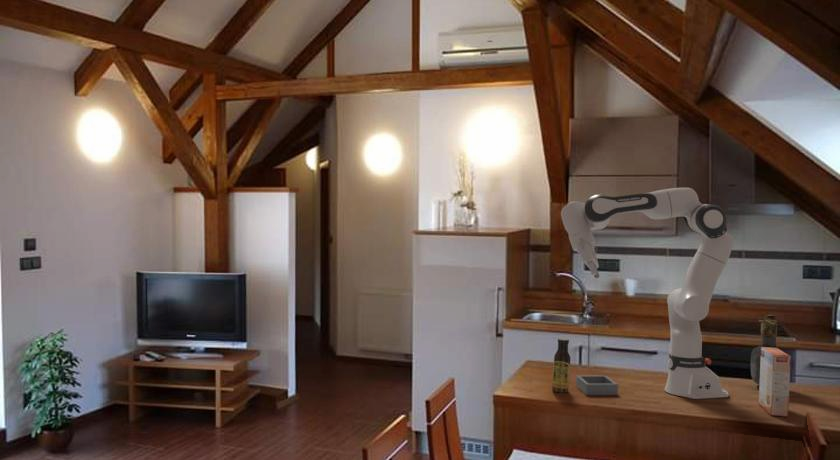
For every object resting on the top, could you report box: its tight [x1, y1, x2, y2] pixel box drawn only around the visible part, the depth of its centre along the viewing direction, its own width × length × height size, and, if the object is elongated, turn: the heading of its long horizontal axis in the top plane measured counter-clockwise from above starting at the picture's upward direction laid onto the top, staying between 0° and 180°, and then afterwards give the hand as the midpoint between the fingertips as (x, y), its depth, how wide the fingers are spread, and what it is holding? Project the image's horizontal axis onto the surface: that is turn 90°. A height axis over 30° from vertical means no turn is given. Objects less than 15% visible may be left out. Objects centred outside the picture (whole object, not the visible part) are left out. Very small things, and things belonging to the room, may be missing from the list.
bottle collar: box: [575, 375, 619, 396], centre depth 257 cm, size 12×13×4 cm
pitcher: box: [750, 311, 783, 391], centre depth 263 cm, size 11×19×30 cm, turn 163°
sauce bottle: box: [551, 337, 571, 394], centre depth 255 cm, size 7×6×20 cm
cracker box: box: [758, 347, 792, 418], centre depth 234 cm, size 14×6×21 cm, turn 168°
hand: (596, 276), depth 253 cm, fingers open, 8 cm apart
